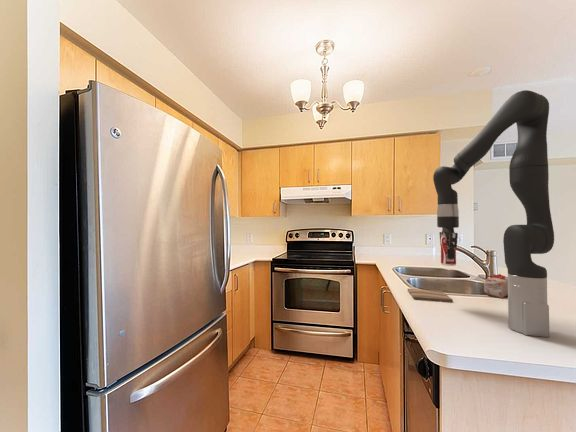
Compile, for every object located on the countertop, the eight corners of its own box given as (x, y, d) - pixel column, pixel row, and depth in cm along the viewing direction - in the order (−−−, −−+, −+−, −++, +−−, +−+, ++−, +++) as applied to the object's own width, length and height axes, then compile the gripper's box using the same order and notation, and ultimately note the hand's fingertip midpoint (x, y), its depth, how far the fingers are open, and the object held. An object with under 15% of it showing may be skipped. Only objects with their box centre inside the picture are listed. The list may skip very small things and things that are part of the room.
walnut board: (452, 302, 111) (452, 299, 111) (414, 299, 115) (414, 296, 115) (441, 293, 126) (441, 290, 126) (407, 290, 130) (407, 288, 130)
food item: (504, 299, 116) (504, 277, 116) (482, 295, 122) (482, 274, 123) (513, 295, 124) (513, 274, 124) (492, 291, 130) (492, 271, 131)
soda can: (442, 263, 110) (441, 234, 110) (456, 264, 107) (456, 235, 107) (439, 265, 106) (439, 235, 106) (455, 266, 103) (454, 235, 103)
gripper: (465, 215, 99) (466, 260, 98) (451, 216, 113) (452, 256, 112) (443, 215, 101) (443, 259, 100) (432, 216, 115) (432, 255, 114)
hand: (448, 257), depth 106 cm, fingers closed on soda can, 5 cm apart
